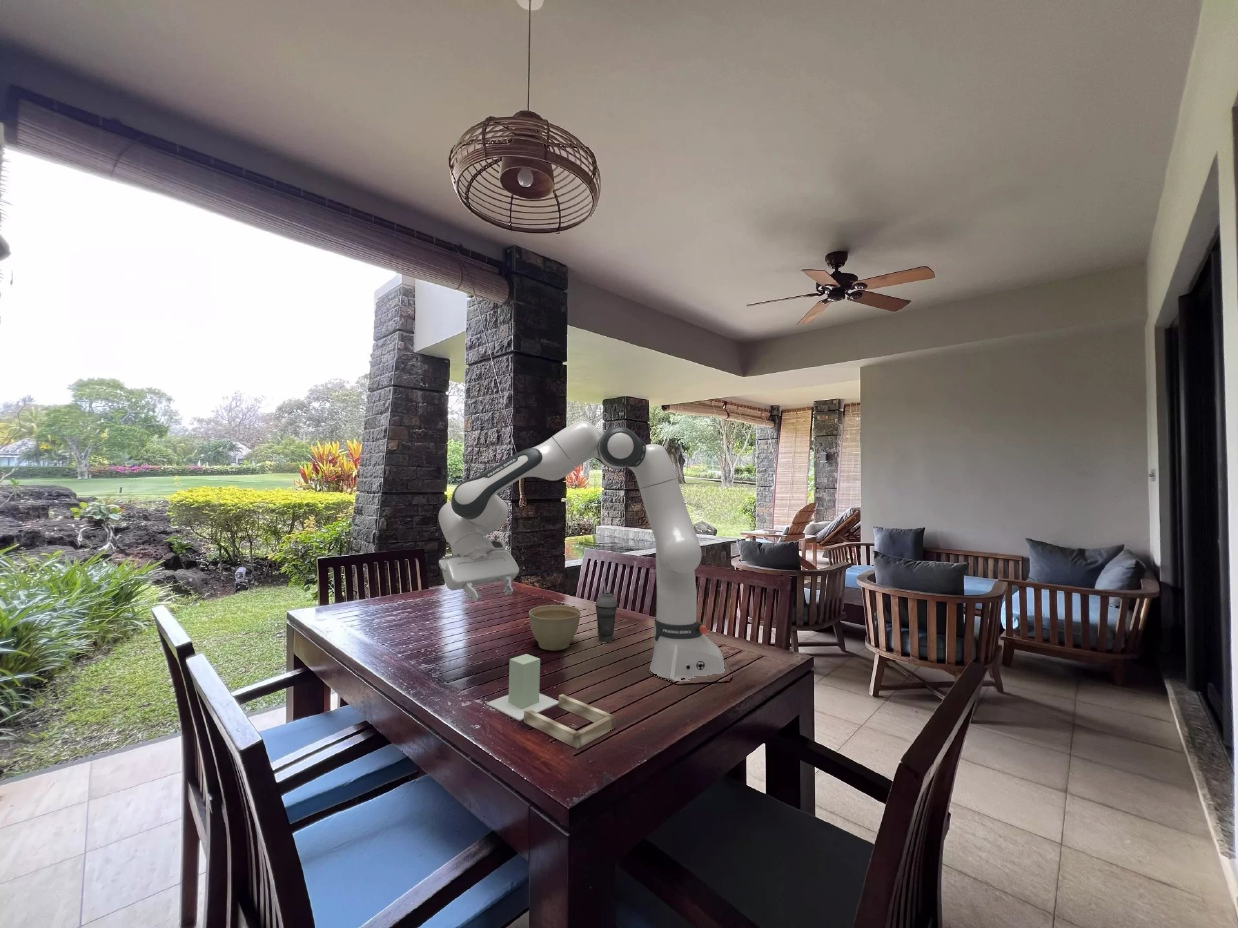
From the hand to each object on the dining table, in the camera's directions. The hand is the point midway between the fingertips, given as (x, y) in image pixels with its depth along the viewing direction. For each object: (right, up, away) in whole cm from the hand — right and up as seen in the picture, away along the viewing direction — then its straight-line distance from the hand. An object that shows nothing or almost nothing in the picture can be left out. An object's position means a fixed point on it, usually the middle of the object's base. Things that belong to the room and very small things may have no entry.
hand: (494, 596), depth 127 cm
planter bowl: (+11, -24, +33) cm, 42 cm away
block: (+9, -22, -9) cm, 26 cm away
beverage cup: (+27, -25, +39) cm, 53 cm away
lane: (+21, -23, -19) cm, 36 cm away
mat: (+9, -23, -9) cm, 26 cm away
